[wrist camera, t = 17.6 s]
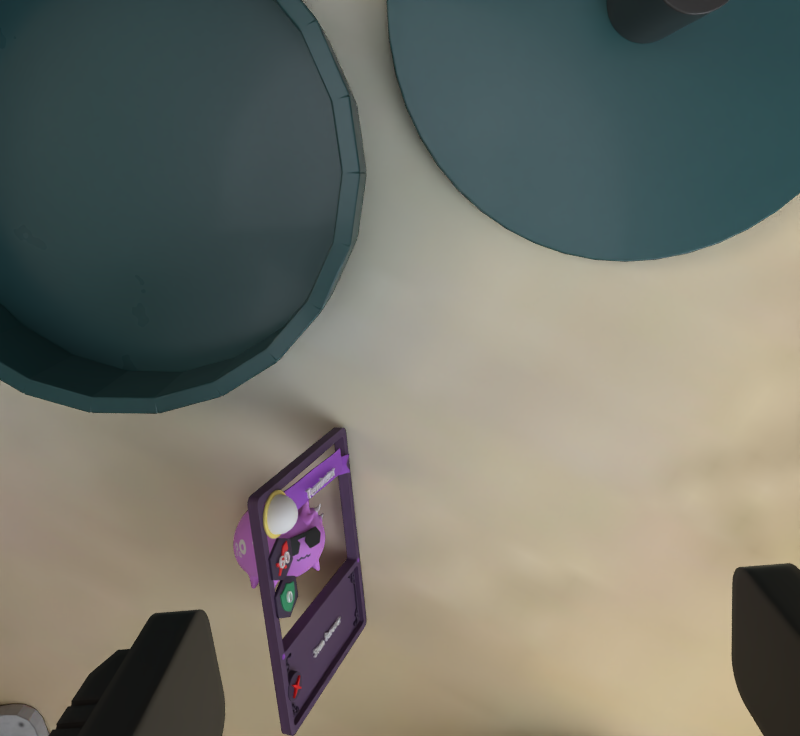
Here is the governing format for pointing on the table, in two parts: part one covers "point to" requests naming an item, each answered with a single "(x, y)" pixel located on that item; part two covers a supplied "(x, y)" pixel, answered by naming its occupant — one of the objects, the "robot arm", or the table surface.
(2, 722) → the emergency button
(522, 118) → the tin lid
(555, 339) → the table surface
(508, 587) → the table surface
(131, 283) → the tin
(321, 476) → the purple monster toy
